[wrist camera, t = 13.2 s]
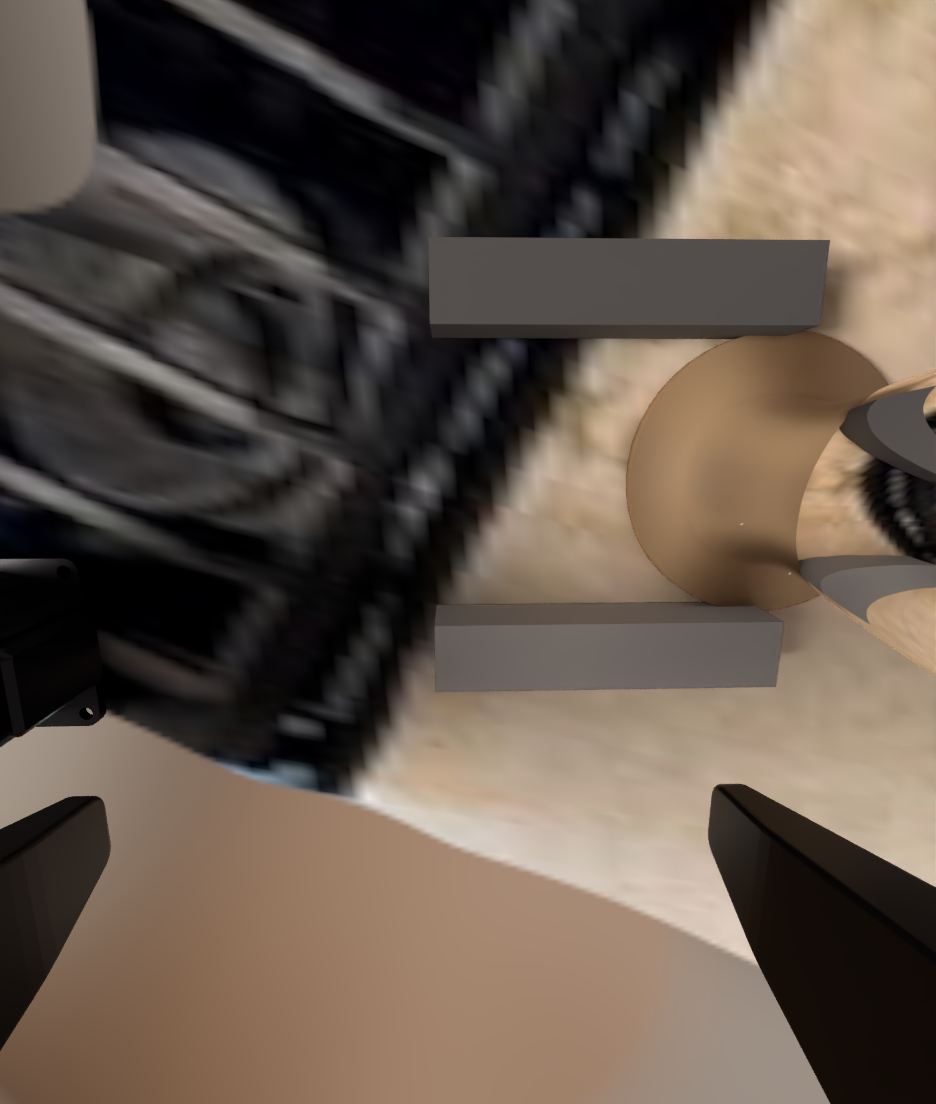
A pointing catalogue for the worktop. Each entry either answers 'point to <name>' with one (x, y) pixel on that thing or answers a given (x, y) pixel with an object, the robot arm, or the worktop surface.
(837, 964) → the robot arm
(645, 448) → the coaster
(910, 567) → the silver metal cup
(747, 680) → the grey square beam
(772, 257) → the long grey square rod
